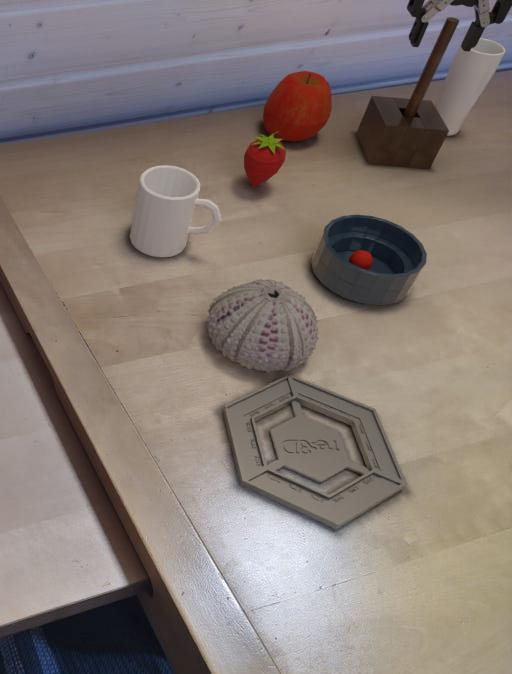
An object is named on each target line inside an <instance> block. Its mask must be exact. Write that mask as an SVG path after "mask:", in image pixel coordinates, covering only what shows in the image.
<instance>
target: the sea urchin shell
mask: <svg viewBox="0 0 512 674" xmlns="http://www.w3.org/2000/svg"><path fill="white" fill-rule="evenodd" d="M207 312H208V314H209V315H208V316H207V325H206V328H207V331H208V337H209V339H211V345H214V346H215V348H216V350H217V351H221V353H222V354H221V355H222V356H223V357H224V358H227V359H229V361H230V362H236V363H238V364H239V365H240V366H241V367H245V368H247V370H256V371H261V372H262V371H263V372H265V373H270V372H272V373H274V372H278V371H281V372H288V371H289V370H293V369H297V368H298V366H301V365H302V364H303V362H305V361H307V360H308V357H310V356H312V354H313V352H314V350H315V349H316V348H317V342H318V341H319V339H320V338H319V337H318V335H319V334H320V332H319V331H318V330H319V327H318V326H317V325H318V323H319V320H318V319H317V316H316V313H315V310H314V309H313V307H312V306H311V304H310V303H309V302H308V301H307V300H306V297H304V296H303V294H302V293H299V292H298V291H295V290H294V289H292V288H291V287H289V286H287V285H286V284H284V283H283V281H276V280H274V279H262V278H260V279H256V280H253V281H250V282H246V283H243V284H239V285H237V286H236V285H235V286H233V287H232V288H227V290H226V291H222V293H221V294H219V295H217V296H216V297H214V298H213V301H212V302H211V303H210V304H209V308H208V309H207Z"/></svg>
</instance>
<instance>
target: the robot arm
mask: <svg viewBox="0 0 512 674" xmlns="http://www.w3.org/2000/svg"><path fill="white" fill-rule="evenodd" d="M449 6H453V7H454V6H455V7H458V6H464V7H467V8H473V10H474V18H475V20H473V21H471V23H470V25H469V27H468V29H467V31H466V33H465V36H464V38H463V39H462V41H463V42H461V43H462V44H460V45H461V48H462V49H463V51H468V52H469V51H470V50H471V48H474V47H475V46H476V45H477V43H478V41H479V39H480V38H482V35H483V33H484V31H485V30H486V28H487V27H488V26H490V25H493V24H496V25H500V24H502V23H504V21H505V19H506V18H507V16H508V14H509V12H510V10H511V9H512V0H496V2H495V3H494V5H493V7H492V8H491V7H490V1H489V0H427V2H426V1H425V0H408V3H407V5H406V10H407V11H408V13H409V14H410V16H411V17H412V18H415V19H414V22H413V24H412V27H411V29H410V31H409V34H408V40H409V43H410V45H411V47H412V48H419V47H420V45H421V43H422V40H423V39H424V36H425V33H426V31H427V30H428V29H427V28H428V27H429V21H431V20H432V19H433V17H435V16H436V15H437V14H438V13H439V12H442V11H444V10H445V9H446V8H447V7H449ZM490 10H491V11H490Z"/></svg>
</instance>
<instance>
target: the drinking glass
mask: <svg viewBox="0 0 512 674" xmlns="http://www.w3.org/2000/svg"><path fill="white" fill-rule="evenodd" d="M462 42H463V40H462ZM462 42H461V44H462ZM461 44H460V45H459V47H458V49H457V51H456V53H455V55H454V56H453V59H452V61H451V62H450V63H451V64H450V65H449V68H448V71H447V73H446V76H445V79H444V81H443V84H442V86H441V89H440V92H439V94H438V96H437V99H436V101H435V104H434V106H435V107H436V109H437V111H438V113H439V114H440V116H441V118H442V119H443V121H444V123H445V124H446V126H447V128H448V129H449V132H448V134H447V136H446V137H451V136H454V135H456V134H458V133H459V132H460V130H461V128H462V126H463V124H464V122H465V121H466V119H467V118H468V116H469V115H470V113H471V111H472V109H473V108H474V107H475V105H476V104H477V102H478V100H479V98H480V97H481V95H482V94H483V92H484V91H485V89H486V88H487V86H488V84H489V83H490V81H491V80H492V79H493V77H494V75H495V73H496V71H497V69H498V67H499V65H500V64H501V62H502V60H503V57H504V55H505V53H506V49H505V47H504V46H503V45H502V44H501V43H498V42H497V41H495V40H491V39H487V38H485V37H484V38H483V37H480V39H479V41H478V43H477V45H476V46H475V47H474V48H471V50H470V51H469V52H468V51H463V49H462V48H461Z"/></svg>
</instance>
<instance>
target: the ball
mask: <svg viewBox="0 0 512 674" xmlns="http://www.w3.org/2000/svg"><path fill="white" fill-rule="evenodd" d="M349 263H352V264H354V265H356V266H358V267H360V268H362V269H365V270H368V269H369V268H370V267H371V266H372V264H373V257H372V255H371V254H370V253H369V252H367V251H364V250H359V251H356V252H354V253H353V254H352V255H351V256H350V258H349Z"/></svg>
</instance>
